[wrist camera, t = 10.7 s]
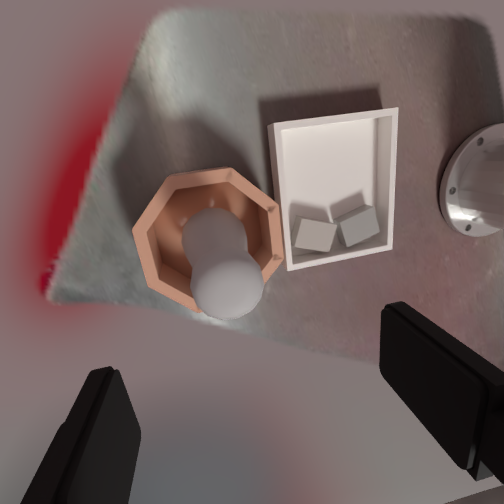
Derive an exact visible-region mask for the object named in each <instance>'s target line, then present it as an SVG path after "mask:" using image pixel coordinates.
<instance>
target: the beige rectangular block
mask: <svg viewBox="0 0 504 504" xmlns="http://www.w3.org/2000/svg"><path fill="white" fill-rule="evenodd" d="M336 228H337V225H336V224H334V223H332V222H328V221H323V220H318V219H313V218H307V217H302V216H297V215H296V219H295V222H294V226H293V230H292V234H291V238H290V240H291V245H293V246H294V247H297V248H304V249H310V250H316V251H323V252H329V251H330V248H331V244H332V241H333V238H334V235H335V231H336Z"/></svg>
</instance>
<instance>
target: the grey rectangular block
mask: <svg viewBox="0 0 504 504" xmlns="http://www.w3.org/2000/svg"><path fill="white" fill-rule="evenodd" d="M333 223H334V224H336V225H337V228H336V233H337V236H338V239H339V242H340V244H342V245H343V246H345V247H347V248H348V247H350V246H352V245H354V244H356V243H358V242H360V241H362V240H364V239H366V238H369V237H371V236H373V235H375V234H377V233H379V232H380V230H379V225H378V221H377V217H376V213H375V209H374V206H370V205H366V204H365V205H362V206H360V207H358V208H356V209H354V210H352V211H350V212H348V213H345V214H343V215H341V216H339V217H337V218H335V219H333Z"/></svg>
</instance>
